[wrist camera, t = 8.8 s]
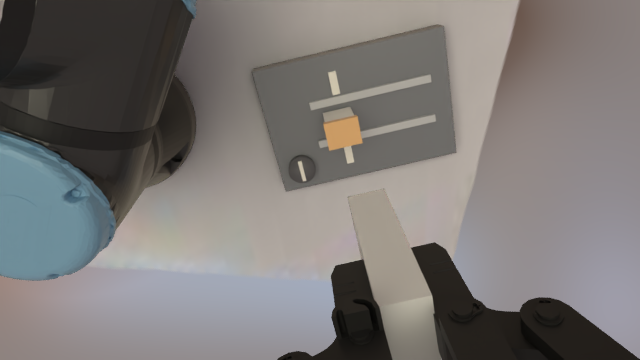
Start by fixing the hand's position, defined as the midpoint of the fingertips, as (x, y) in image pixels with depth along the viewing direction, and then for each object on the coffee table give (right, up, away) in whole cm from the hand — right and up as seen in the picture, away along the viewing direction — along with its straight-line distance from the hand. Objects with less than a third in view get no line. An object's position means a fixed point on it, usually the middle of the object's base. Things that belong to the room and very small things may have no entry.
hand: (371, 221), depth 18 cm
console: (+2, +10, +31) cm, 33 cm away
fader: (0, +8, +29) cm, 31 cm away
